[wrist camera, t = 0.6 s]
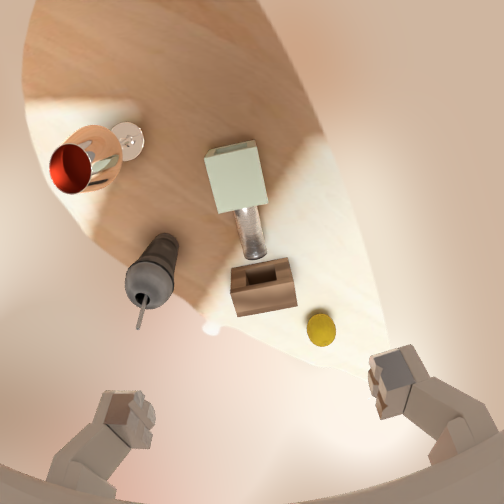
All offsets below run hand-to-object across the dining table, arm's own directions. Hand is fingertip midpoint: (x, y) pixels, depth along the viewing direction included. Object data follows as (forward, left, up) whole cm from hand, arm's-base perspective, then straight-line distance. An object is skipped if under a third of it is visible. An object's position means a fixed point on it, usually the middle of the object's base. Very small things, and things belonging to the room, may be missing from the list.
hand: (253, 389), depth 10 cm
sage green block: (+2, -2, -41) cm, 41 cm away
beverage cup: (+12, -17, -41) cm, 46 cm away
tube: (+7, -2, -39) cm, 39 cm away
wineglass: (-7, -18, -41) cm, 45 cm away
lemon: (+34, +7, -41) cm, 54 cm away
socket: (+21, -2, -41) cm, 46 cm away
